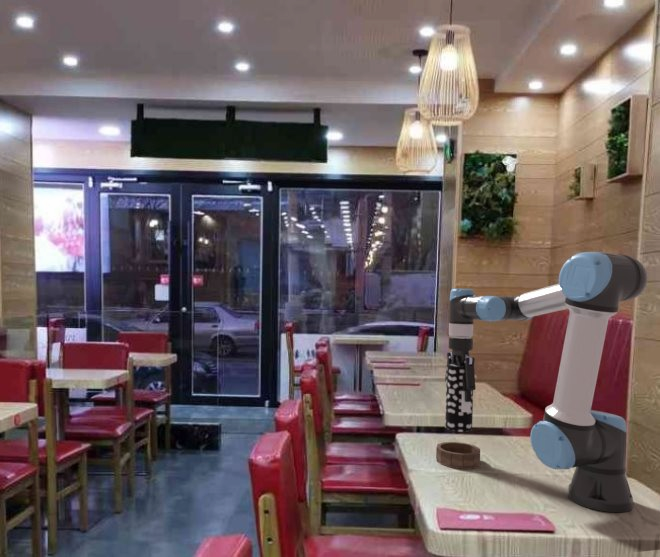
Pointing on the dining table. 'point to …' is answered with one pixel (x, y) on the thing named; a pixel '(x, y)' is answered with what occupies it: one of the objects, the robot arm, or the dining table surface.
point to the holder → (458, 455)
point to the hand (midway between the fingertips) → (459, 408)
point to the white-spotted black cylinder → (456, 401)
